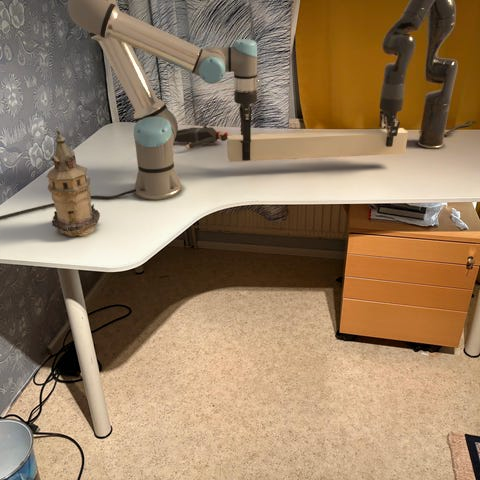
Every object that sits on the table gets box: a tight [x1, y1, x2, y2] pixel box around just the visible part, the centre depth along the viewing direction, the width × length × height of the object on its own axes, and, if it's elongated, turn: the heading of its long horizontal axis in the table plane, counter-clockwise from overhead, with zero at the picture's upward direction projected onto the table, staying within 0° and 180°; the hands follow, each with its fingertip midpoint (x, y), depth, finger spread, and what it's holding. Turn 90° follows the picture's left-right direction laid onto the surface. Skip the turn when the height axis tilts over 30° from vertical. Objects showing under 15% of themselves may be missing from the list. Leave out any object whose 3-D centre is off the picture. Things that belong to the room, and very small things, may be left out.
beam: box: [226, 127, 409, 163], centre depth 187 cm, size 62×5×8 cm, turn 95°
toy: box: [174, 124, 229, 150], centre depth 219 cm, size 26×6×30 cm
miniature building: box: [46, 129, 101, 237], centre depth 148 cm, size 13×14×30 cm
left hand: (245, 157), depth 187 cm, fingers closed on beam, 5 cm apart
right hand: (386, 143), depth 189 cm, fingers closed on beam, 5 cm apart
